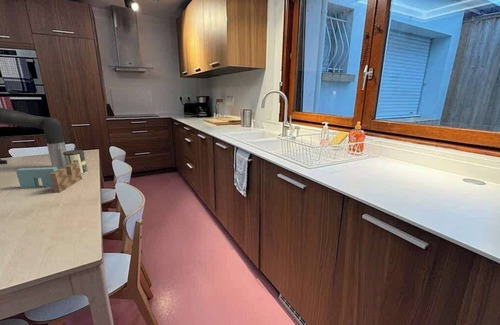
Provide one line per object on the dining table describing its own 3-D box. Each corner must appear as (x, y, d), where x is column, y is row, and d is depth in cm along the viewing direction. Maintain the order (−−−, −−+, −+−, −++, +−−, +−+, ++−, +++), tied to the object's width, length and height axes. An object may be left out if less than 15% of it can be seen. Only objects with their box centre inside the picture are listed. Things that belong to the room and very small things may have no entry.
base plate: (77, 179, 139) (74, 162, 136) (82, 178, 139) (78, 162, 137) (54, 192, 120) (49, 173, 117) (59, 192, 120) (55, 173, 117)
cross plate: (25, 186, 129) (20, 168, 126) (61, 184, 131) (57, 167, 128) (20, 188, 126) (15, 170, 123) (57, 186, 128) (53, 168, 125)
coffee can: (81, 170, 156) (77, 149, 152) (91, 172, 151) (87, 150, 147) (64, 174, 147) (58, 152, 143) (74, 177, 142) (69, 154, 139)
